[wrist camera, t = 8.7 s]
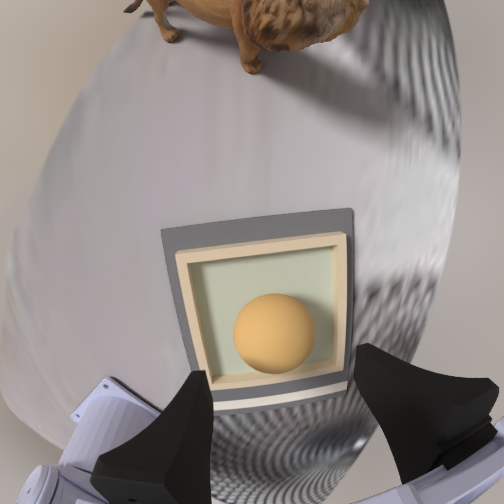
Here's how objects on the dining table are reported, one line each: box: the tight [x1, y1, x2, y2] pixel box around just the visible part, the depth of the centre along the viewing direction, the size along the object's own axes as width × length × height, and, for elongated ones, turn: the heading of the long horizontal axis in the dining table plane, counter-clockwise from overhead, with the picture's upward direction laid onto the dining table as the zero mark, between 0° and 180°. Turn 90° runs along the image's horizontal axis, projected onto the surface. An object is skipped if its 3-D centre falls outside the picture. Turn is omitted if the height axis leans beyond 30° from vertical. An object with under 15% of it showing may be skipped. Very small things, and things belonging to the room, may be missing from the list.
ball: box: [233, 293, 316, 374], centre depth 16 cm, size 5×5×5 cm
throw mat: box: [161, 208, 353, 416], centre depth 18 cm, size 16×12×1 cm
